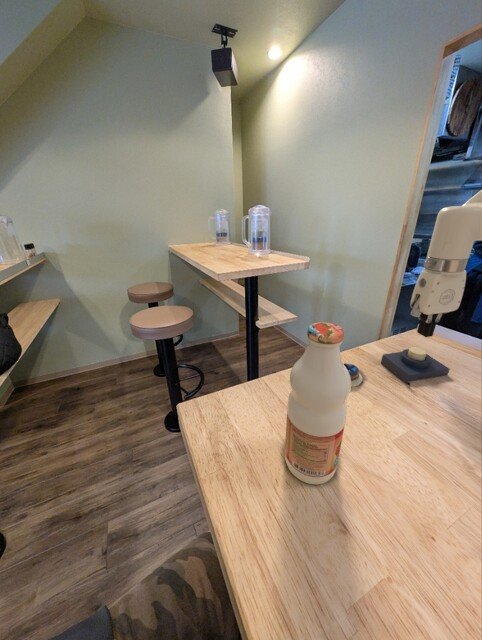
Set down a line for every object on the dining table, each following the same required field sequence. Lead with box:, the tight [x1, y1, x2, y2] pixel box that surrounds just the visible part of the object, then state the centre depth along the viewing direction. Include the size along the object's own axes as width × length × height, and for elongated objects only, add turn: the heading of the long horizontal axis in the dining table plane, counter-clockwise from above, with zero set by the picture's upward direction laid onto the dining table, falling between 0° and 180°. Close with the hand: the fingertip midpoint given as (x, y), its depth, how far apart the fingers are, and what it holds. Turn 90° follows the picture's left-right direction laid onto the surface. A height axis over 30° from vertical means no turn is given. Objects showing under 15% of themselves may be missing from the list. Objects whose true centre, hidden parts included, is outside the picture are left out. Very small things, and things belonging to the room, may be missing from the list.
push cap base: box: [380, 348, 451, 386], centre depth 69 cm, size 12×10×5 cm
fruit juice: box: [284, 321, 352, 485], centre depth 41 cm, size 9×9×28 cm
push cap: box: [408, 346, 428, 361], centre depth 68 cm, size 4×4×2 cm
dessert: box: [343, 362, 364, 388], centre depth 68 cm, size 8×7×6 cm
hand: (424, 334), depth 66 cm, fingers closed
